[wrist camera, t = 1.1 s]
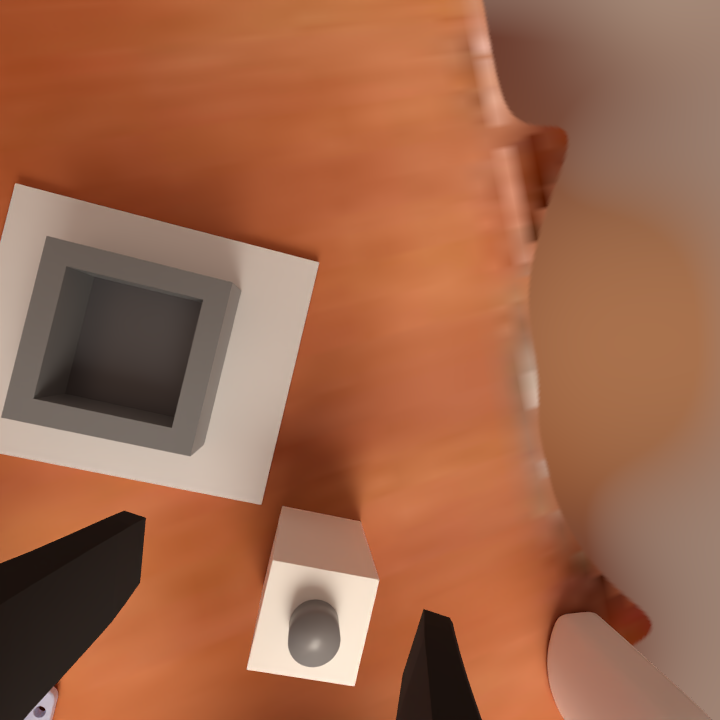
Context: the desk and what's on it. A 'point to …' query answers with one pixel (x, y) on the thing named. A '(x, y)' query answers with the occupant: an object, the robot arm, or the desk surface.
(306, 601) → the block
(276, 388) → the socket dock
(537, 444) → the desk surface
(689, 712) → the eye dropper bottle
